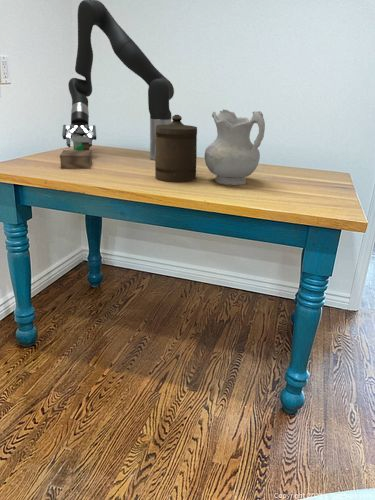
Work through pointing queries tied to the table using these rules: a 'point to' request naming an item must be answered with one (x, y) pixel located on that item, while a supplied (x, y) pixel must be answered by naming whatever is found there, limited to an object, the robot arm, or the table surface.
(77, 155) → the walnut block
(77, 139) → the food container
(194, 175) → the wooden container
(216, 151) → the ceramic pitcher
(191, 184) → the table surface
